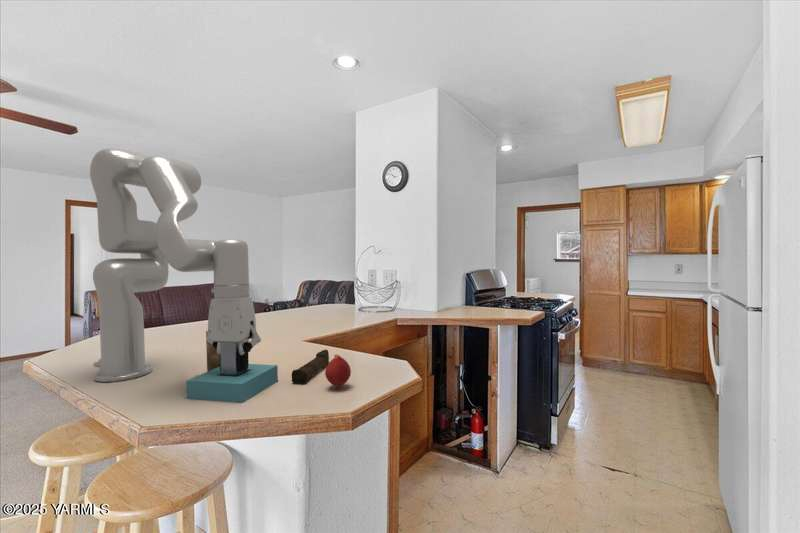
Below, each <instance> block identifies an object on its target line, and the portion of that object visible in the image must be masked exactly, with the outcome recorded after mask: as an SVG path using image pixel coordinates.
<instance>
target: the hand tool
mask: <svg viewBox="0 0 800 533" xmlns="http://www.w3.org/2000/svg"><path fill="white" fill-rule="evenodd" d="M329 358H330V354H329V350H328V349H323V350H321V351H319V352H316V354H315V357H314V358H313V359H312V360H310V361H308V362H307V363H306V364H303V365H302V366H301V367H299V368H297V369H293V370H292V372H291V382H292V384H294V385H306V382H308V381H309V379H310V378H311V377H312V376H314V375H315V374H317V373H318V372H319V371H320V370H324V369H325V370H326V367H327V365H328V364H329V362H330V359H329Z"/></svg>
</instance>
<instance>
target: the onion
mask: <svg viewBox="0 0 800 533" xmlns="http://www.w3.org/2000/svg"><path fill="white" fill-rule="evenodd" d="M346 360H347V359H344V358H343V357H342V356H340V354H338V353H336V354H334V358H333V359H331V360H329V363H328V365H327V367H326V368H325V371H324V372H325V374H324V375H325V378H326V379H327V381H328V382H329V383H330V384H331V385H332V386H334V388H336V389H339V388H341V387H343V386H344V385H345V384H347V383H348V381H349V380H350V377H351V372H352V370H351V366H350V365H349V363H348V361H346Z"/></svg>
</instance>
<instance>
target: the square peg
mask: <svg viewBox="0 0 800 533" xmlns="http://www.w3.org/2000/svg"><path fill="white" fill-rule="evenodd" d="M243 344H244V343H243ZM237 355H239V350H238V345H237V343H232V342H220V356H221V376H232V377H238V376H240V375H242V374H244V373H246V372H247V369H246V370H244V371H242V372H238V365H237Z"/></svg>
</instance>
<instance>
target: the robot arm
mask: <svg viewBox="0 0 800 533" xmlns="http://www.w3.org/2000/svg"><path fill="white" fill-rule="evenodd" d="M89 177H90V182H91V184H92V189H93V192H94V193H95V194H94V195H95V200H96V204H97V205H96V207H97V208H96V209H97V229H98V238H99V239H98V240H99V245H100V247H101V249H102V250H104V252H107V253H111V254H112V253H113V254H135V255H138V254H139V255H140V258H139V257H138V258H134V257H133V258H129V257H128V258H127V257H126V258H125V257H123V258H120V257H119V258H109V259H105V260H102V261H101V262H98V264H97V265H95V267H94V269H93V271H92V281H93V283H94V287H95V288H94V289H95V291H96V295H97V300H98V312H99V335H100V339H99V341H100V358H99V359H98V361H95V362H93V364H92V365H93V367H94V368H98V372H96V373H95V374H94V375H93V378H94V379H93V380H94V381H96V382H101V383H108V382H110V383H111V382H119V381H125V380H131V379H135V378H136V379H137V378H140V377H142V376H146V375H147V374H148V375H149V373H151V372H152V371H153V365H151V364H146V351H145V350H146V348H145V347H146V346H145V323H144V321H145V319H144V309H143V305H142V303H141V301H140V300H139V299H138V297H137V296H136V295H135V293H144V292H153V291H158V290H161V289H163V288H164V287H165V286H166V285H167V283H168V279H169V265H170V267H172V268H173V269H174V270H176V271H178V272H182V273H195V272H196V273H197V272H213V287H212V288H211V289H210V293H211V294H213V295H214V296H213V297H214V298H211V299H210V304H209V310H208V319H207V331H208V337H207V339H206V338H205V341H206V340H207V341H208V342H209V343H210V344H212V345H213V347H214V348H215V349H216V350H217V354H219V358H220V371H221V356H220V342H232V343H237V345H238V350H239V355H237V365H238V372H242V371H244V370H246V369H248V365H249V364H250V363H249V352H252V351H251V350H252V349H253V348H254V347H255V346H256V345H259V343H260V342H262V339H261V337H260V335H259V334H258V332H257V319H256V312H255V306H254V302H253V299H252V297H250V277H249V276H250V274H249V272H250V269H249V247H248V244H247V242H246V241H245V240H242V239H219V240H212V239H211V240H208V239H191V238H190V239H189V238H187V237H186V236H185V234H184V232H183V231H182V229H181V227H180V225H179V223H180V222H182V221H185V220H187V219H190V217H192V216H193V215H194V214H195V213H196V212H197V210H198V208H199V203H198V200H196V198H195V196H194V194H196V193H198V192H199V190H200V188H201V186H202V176H201V174H200V172H199V170H198V169H197V167H195V166H193V165H192V164H191V163H187V162H184V161H179V160H177V159H173V158H169V157H166V156H161V155H152V156H151V155H150V156H149V155H148V156H147V155H144V154H142V153H141V154H140V153H137V152H132V151H129V150H124V149H118V148H104V149H100V150H99V151H97V152H96V153H95V154H94V156H93V157H92V159H91V162H90V167H89ZM126 185H130V186H136V187H142V188H146V189H147V191H148V194H150V197H151V199H152V200H153V202H154V204H155V206H156V207H157V209H158V211H159V212H160V215H159V216H158V219H157V221H156V222H155V221H151V220H144V219H143V220H141V219H139V217H138V208H137V207H138V206H137V202H136V199H135V197H134V196H133V194H132V192H131V191H130V190H129V189H128V187H126ZM243 343H244V344H243Z"/></svg>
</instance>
